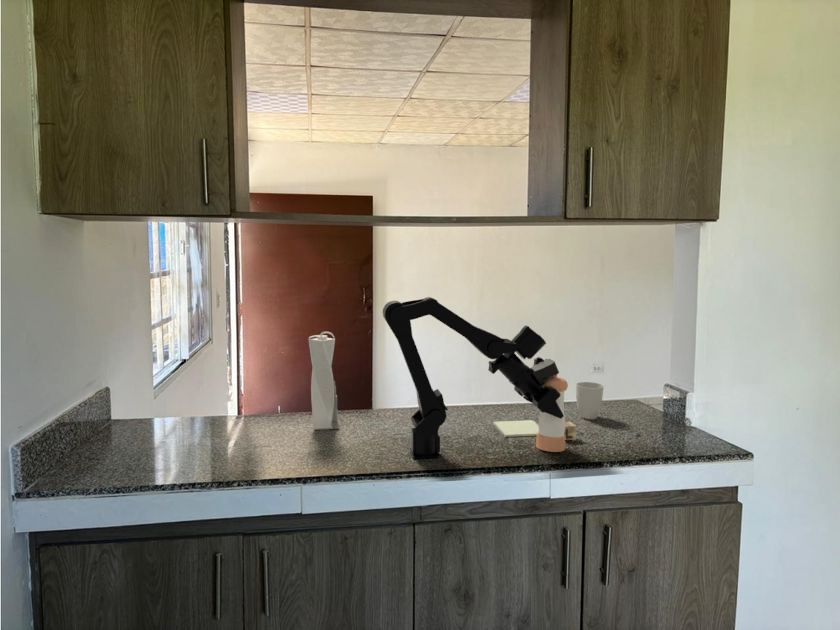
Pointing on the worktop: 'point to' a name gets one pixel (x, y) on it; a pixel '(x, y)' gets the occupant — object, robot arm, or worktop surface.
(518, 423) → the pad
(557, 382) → the pepper shaker
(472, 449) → the worktop surface
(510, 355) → the robot arm
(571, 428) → the letter cube
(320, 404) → the skyscraper
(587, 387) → the cup
